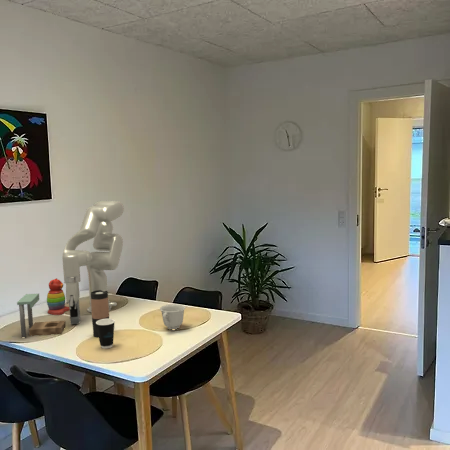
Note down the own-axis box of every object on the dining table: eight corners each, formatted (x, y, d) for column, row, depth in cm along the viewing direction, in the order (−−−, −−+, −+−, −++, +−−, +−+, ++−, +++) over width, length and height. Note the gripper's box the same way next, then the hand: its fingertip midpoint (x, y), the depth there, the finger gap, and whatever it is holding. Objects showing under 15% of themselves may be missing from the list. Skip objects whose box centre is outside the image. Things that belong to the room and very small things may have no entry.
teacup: (152, 333, 214) (151, 312, 213) (167, 323, 228) (166, 303, 227) (176, 336, 210) (175, 314, 209) (190, 325, 224) (189, 305, 222)
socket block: (65, 326, 226) (65, 320, 226) (61, 334, 216) (60, 327, 215) (35, 328, 224) (35, 322, 224) (29, 336, 214) (29, 329, 214)
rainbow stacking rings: (61, 315, 244) (59, 281, 242) (43, 314, 246) (41, 281, 244) (71, 309, 255) (69, 277, 253) (54, 308, 256) (51, 276, 254)
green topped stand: (41, 326, 226) (39, 293, 224) (33, 337, 213) (31, 301, 211) (28, 327, 226) (25, 294, 224) (19, 338, 212) (17, 302, 210)
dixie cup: (109, 350, 194) (107, 325, 193) (93, 348, 197) (91, 323, 196) (120, 344, 202) (118, 319, 200) (104, 342, 204) (103, 317, 203)
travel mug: (94, 338, 208) (92, 295, 206) (91, 333, 215) (88, 291, 213) (112, 335, 212) (109, 292, 210) (108, 330, 219) (105, 289, 216)
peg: (80, 320, 232) (78, 297, 230) (79, 323, 228) (77, 299, 227) (72, 321, 232) (70, 297, 230) (70, 324, 228) (68, 300, 226)
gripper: (67, 275, 235) (70, 310, 237) (60, 284, 218) (63, 321, 221) (83, 274, 236) (85, 309, 238) (77, 283, 219) (80, 320, 222)
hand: (75, 314), depth 229 cm, fingers closed on peg, 4 cm apart
